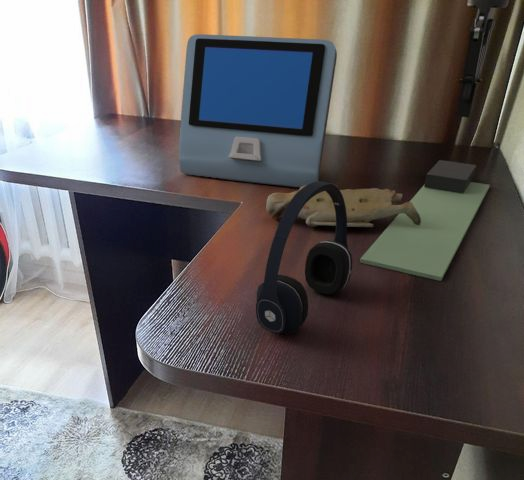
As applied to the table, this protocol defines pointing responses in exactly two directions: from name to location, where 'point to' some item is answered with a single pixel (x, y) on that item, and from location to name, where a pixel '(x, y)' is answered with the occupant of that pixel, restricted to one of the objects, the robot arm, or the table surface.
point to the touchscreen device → (256, 108)
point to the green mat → (427, 232)
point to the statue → (357, 207)
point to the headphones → (316, 267)
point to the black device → (450, 176)
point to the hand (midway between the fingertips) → (462, 116)
